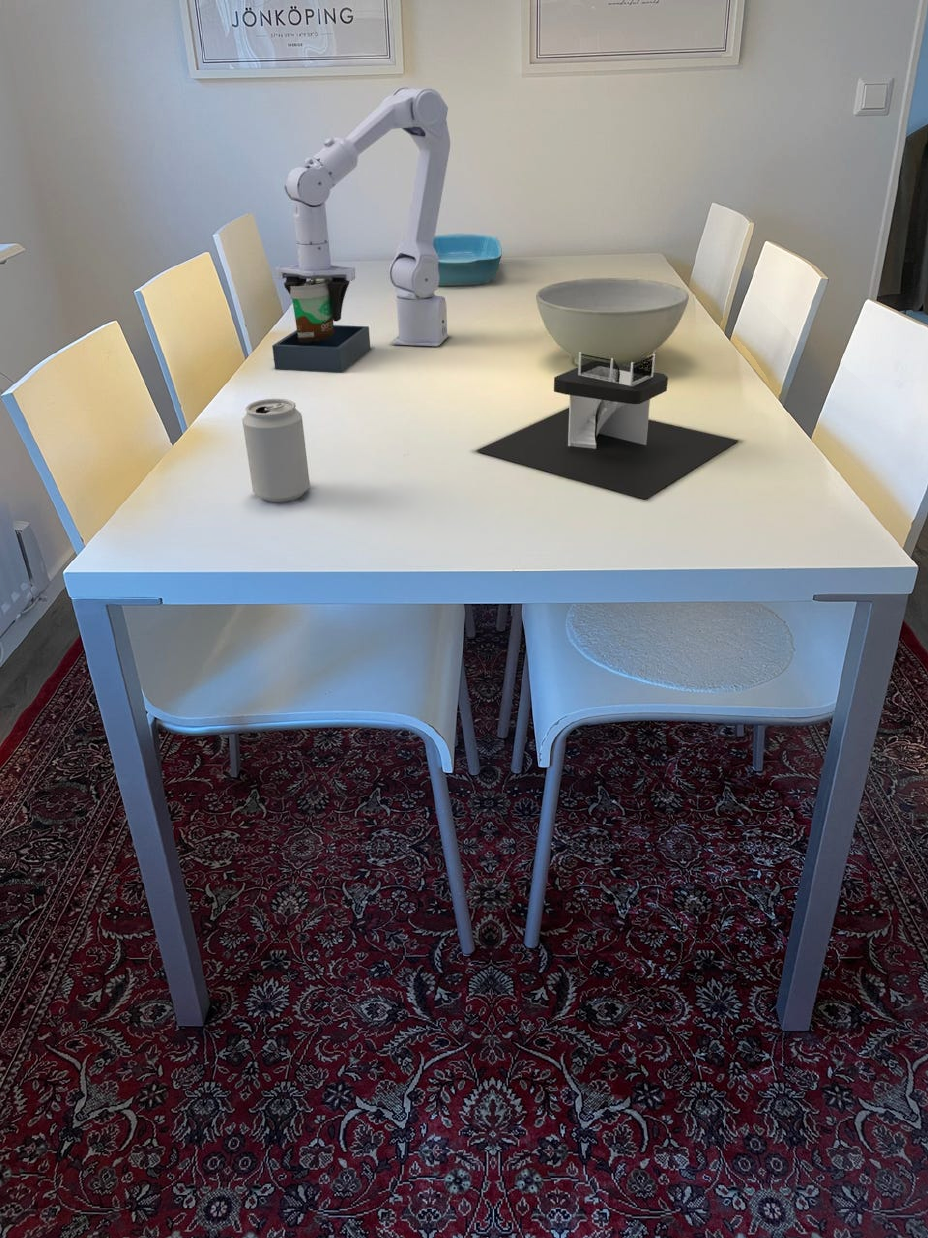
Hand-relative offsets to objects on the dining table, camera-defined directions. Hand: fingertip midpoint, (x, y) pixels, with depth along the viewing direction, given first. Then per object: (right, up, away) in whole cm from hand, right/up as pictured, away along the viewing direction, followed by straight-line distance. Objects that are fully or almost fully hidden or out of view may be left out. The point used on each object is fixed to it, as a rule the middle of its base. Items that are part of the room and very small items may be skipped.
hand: (320, 319), depth 174 cm
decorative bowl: (+53, -9, -2) cm, 54 cm away
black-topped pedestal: (+48, -31, -39) cm, 69 cm away
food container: (0, -3, +2) cm, 3 cm away
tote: (0, -6, +4) cm, 7 cm away
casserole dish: (+25, +33, +68) cm, 79 cm away
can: (+3, -39, -51) cm, 64 cm away
